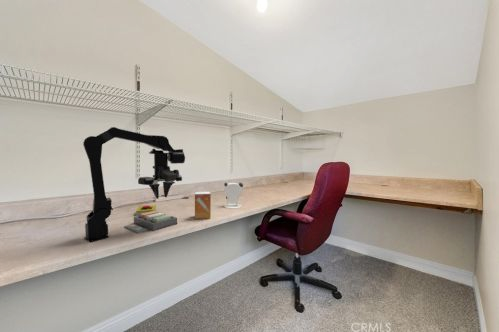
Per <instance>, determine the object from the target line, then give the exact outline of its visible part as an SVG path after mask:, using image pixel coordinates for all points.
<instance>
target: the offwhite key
mask: <svg viewBox="0 0 499 332" xmlns="http://www.w3.org/2000/svg"><path fill="white" fill-rule="evenodd" d="M164 214H165V213H162V212H159V213H156V214H152V215H148V216H146V220H148V221H149V220H152V218H154V217H158V216H162V215H164Z"/></svg>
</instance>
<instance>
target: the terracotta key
mask: <svg viewBox="0 0 499 332" xmlns="http://www.w3.org/2000/svg"><path fill="white" fill-rule="evenodd" d="M158 212H159V211H157V210H156V211H151V212H147V213H142V214H140V218H146V216H148V215H152V214H156V213H158Z"/></svg>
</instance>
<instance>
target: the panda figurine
mask: <svg viewBox="0 0 499 332" xmlns="http://www.w3.org/2000/svg"><path fill="white" fill-rule="evenodd" d="M243 187H244V184H243V183H242V182H239V183H235V182H229V183H227V182H224V191H223V192H224V194H225V199H226V204H224V205H223V208H225V209H240V208H242V206H243V205H241V204H239V198H240V197H241V196H242V195H243Z"/></svg>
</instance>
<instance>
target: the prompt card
mask: <svg viewBox="0 0 499 332" xmlns="http://www.w3.org/2000/svg"><path fill="white" fill-rule="evenodd" d="M124 229H127V230H129V231H132V232H133V233H136V234H140V233H144V232H147V231H148V229H147V228H145V227H142V226H140V225H137V224H135V223H130V224H128V225H124Z"/></svg>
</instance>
